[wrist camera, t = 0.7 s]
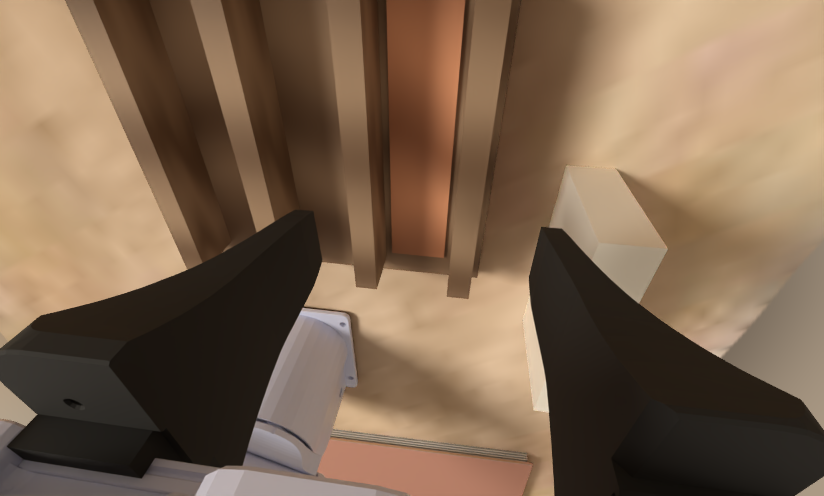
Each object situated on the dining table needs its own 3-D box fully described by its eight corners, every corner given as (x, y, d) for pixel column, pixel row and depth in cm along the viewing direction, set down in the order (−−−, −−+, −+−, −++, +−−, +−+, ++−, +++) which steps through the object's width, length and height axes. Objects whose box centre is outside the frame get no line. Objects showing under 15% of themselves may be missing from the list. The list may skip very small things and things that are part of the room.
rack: (477, 267, 25) (477, 312, 22) (218, 242, 27) (183, 280, 24) (530, -76, 14) (544, -85, 11) (100, -79, 16) (9, -88, 13)
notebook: (308, 481, 52) (302, 497, 51) (278, 416, 42) (270, 434, 41) (510, 510, 49) (511, 528, 47) (531, 447, 39) (533, 468, 37)
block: (558, 323, 27) (578, 416, 22) (522, 319, 27) (533, 410, 22) (615, 167, 20) (668, 249, 14) (565, 164, 20) (598, 243, 15)
